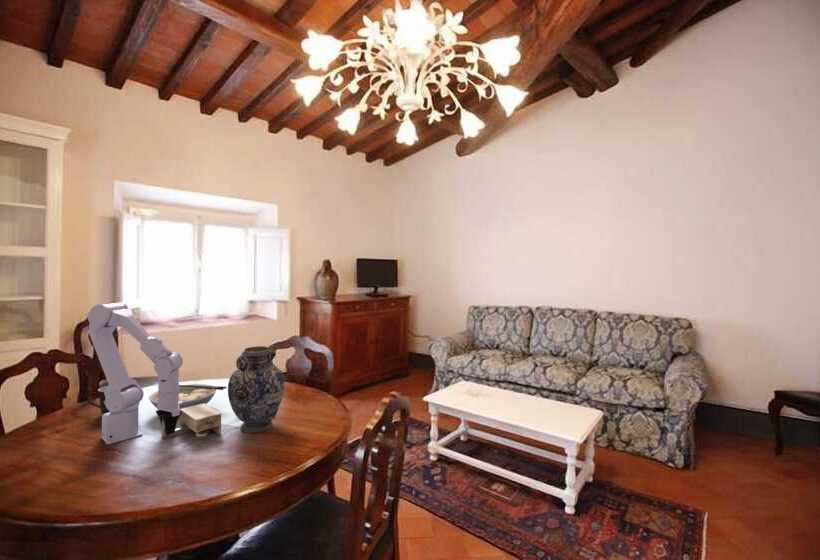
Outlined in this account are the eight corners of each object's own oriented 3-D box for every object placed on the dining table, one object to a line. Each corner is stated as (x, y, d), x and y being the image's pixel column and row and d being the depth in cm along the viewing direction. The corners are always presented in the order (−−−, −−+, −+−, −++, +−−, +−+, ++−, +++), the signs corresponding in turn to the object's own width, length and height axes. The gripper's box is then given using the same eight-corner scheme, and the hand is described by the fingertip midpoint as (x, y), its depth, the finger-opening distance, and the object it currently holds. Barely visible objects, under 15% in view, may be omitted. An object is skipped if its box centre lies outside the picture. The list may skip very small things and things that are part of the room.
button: (198, 439, 125) (198, 435, 125) (193, 435, 127) (193, 432, 127) (210, 435, 128) (210, 431, 128) (206, 431, 130) (206, 428, 130)
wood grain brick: (164, 439, 124) (164, 420, 124) (161, 436, 126) (161, 418, 125) (205, 427, 133) (205, 410, 133) (202, 425, 135) (202, 408, 135)
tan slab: (196, 442, 122) (196, 420, 122) (179, 429, 132) (179, 409, 131) (222, 434, 128) (222, 413, 128) (204, 422, 138) (204, 403, 137)
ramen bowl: (130, 419, 139) (130, 397, 139) (178, 399, 161) (178, 380, 161) (190, 425, 134) (190, 403, 134) (231, 403, 157) (231, 384, 157)
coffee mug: (132, 410, 148) (132, 385, 147) (113, 419, 139) (113, 392, 139) (105, 409, 149) (105, 383, 149) (84, 417, 140) (84, 390, 140)
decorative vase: (263, 442, 122) (263, 355, 122) (212, 437, 126) (212, 353, 126) (296, 418, 143) (296, 343, 143) (251, 414, 147) (251, 341, 147)
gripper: (190, 393, 124) (190, 434, 124) (174, 384, 133) (174, 422, 134) (165, 398, 118) (165, 441, 119) (151, 388, 128) (150, 428, 128)
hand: (168, 432), depth 126 cm, fingers closed on wood grain brick, 3 cm apart
